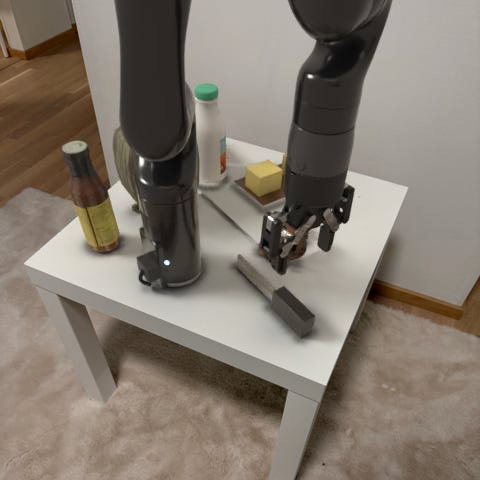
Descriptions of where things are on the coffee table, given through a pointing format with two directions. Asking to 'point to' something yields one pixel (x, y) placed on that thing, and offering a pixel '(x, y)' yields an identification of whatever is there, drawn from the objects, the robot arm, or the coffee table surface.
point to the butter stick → (263, 177)
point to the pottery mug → (296, 249)
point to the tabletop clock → (130, 165)
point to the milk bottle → (210, 134)
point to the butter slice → (283, 163)
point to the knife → (280, 300)
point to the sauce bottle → (91, 199)
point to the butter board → (267, 197)
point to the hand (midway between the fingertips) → (301, 260)
